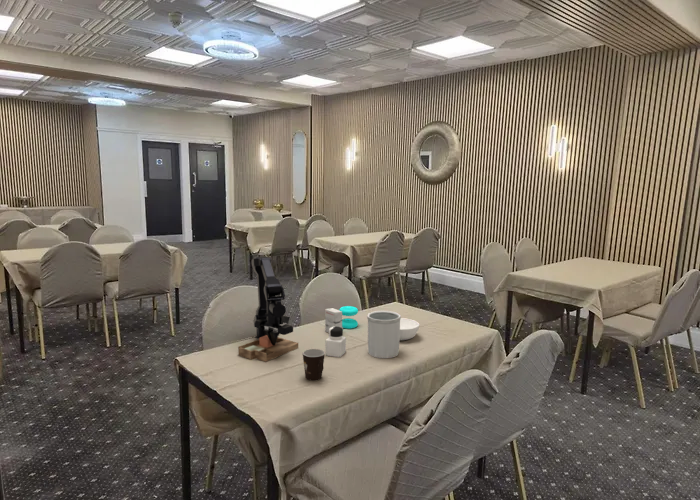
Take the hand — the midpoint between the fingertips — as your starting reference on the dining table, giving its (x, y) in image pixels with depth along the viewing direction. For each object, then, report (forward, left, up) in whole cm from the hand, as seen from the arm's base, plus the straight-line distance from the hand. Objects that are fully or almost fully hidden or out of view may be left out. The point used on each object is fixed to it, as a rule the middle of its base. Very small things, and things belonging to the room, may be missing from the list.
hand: (273, 345), depth 205 cm
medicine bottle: (+23, +16, -4) cm, 28 cm away
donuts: (+5, +51, -4) cm, 51 cm away
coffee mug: (+32, -10, -4) cm, 34 cm away
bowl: (+35, +53, -4) cm, 63 cm away
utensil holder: (+39, +30, -4) cm, 49 cm away
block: (-4, 0, -1) cm, 4 cm away
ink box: (+5, +38, -4) cm, 38 cm away
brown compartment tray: (-2, 0, -3) cm, 4 cm away
